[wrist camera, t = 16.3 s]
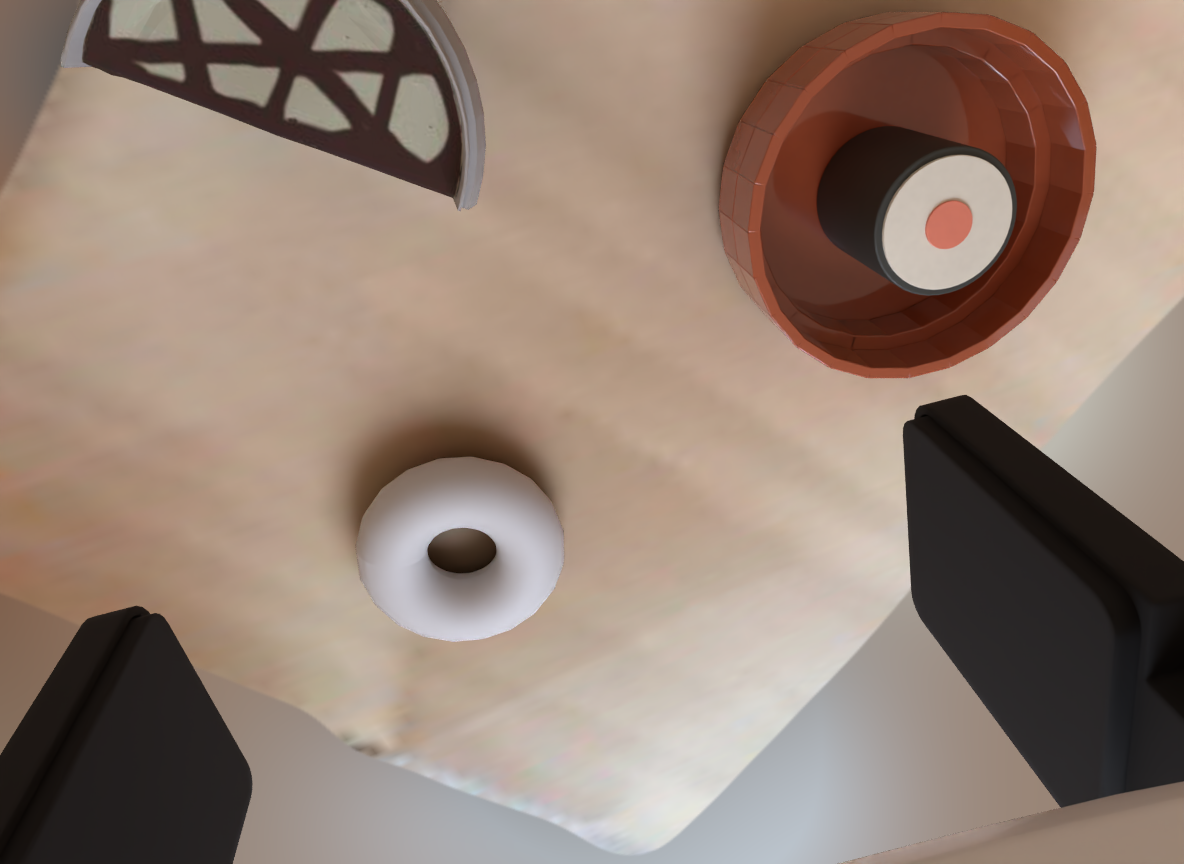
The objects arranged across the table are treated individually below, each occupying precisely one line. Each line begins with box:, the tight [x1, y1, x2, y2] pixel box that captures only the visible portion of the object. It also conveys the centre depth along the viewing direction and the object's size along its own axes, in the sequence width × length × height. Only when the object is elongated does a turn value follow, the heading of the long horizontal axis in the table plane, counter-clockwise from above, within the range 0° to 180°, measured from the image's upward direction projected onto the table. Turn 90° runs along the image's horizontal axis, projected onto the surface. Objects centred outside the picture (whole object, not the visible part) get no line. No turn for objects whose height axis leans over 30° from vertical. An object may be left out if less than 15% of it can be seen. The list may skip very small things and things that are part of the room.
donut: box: [356, 457, 564, 642], centre depth 42 cm, size 10×4×10 cm
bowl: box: [719, 12, 1096, 378], centre depth 36 cm, size 14×14×5 cm
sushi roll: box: [817, 126, 1017, 296], centre depth 35 cm, size 6×6×6 cm
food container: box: [61, 0, 486, 211], centre depth 28 cm, size 12×6×10 cm, turn 68°
